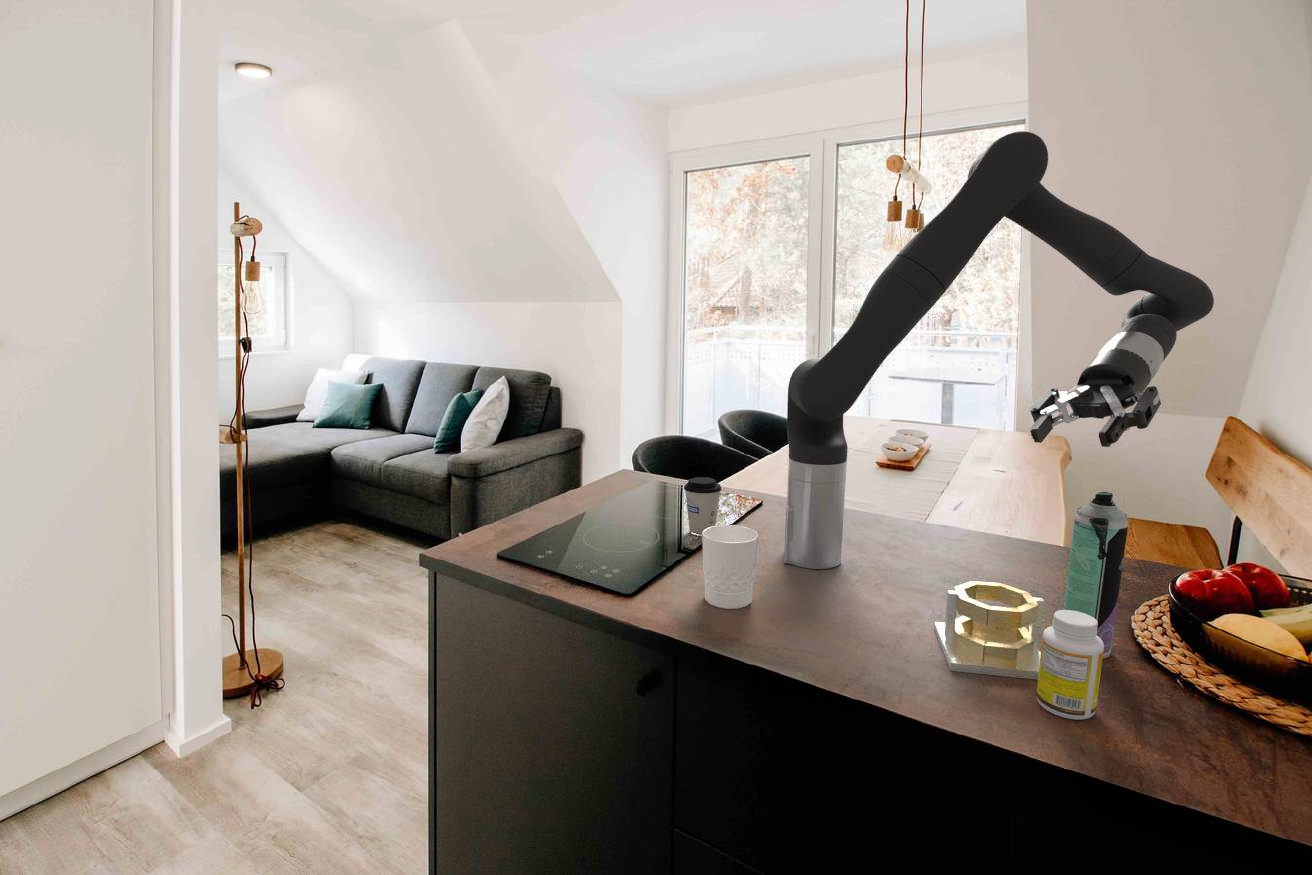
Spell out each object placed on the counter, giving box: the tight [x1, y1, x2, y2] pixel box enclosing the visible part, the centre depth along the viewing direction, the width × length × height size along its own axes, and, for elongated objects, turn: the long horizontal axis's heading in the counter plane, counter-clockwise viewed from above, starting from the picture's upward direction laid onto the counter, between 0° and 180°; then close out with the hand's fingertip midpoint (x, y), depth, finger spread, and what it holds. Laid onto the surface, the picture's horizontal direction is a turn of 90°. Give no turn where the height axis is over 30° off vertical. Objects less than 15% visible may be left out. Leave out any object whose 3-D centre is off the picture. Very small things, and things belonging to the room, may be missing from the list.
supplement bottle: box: [1035, 609, 1104, 721], centre depth 74 cm, size 6×6×10 cm
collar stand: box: [933, 580, 1045, 681], centre depth 86 cm, size 11×11×8 cm
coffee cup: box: [683, 476, 722, 534], centre depth 131 cm, size 7×7×10 cm
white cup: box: [701, 524, 759, 610], centre depth 101 cm, size 8×8×10 cm
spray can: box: [1063, 491, 1129, 659], centre depth 86 cm, size 6×6×20 cm
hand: (1068, 439), depth 92 cm, fingers open, 8 cm apart
